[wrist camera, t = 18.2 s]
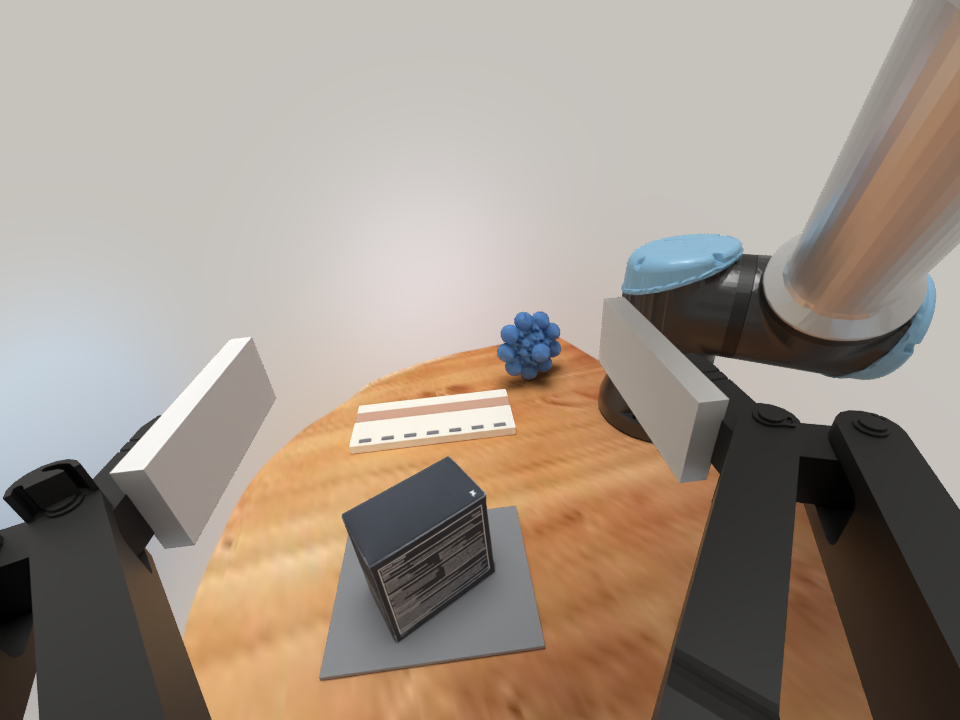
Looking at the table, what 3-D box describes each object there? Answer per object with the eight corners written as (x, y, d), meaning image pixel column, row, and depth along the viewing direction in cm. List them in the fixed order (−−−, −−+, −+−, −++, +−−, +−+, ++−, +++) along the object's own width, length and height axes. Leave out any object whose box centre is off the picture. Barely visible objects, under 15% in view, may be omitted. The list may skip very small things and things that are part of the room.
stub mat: (515, 508, 46) (515, 505, 46) (544, 648, 34) (545, 645, 34) (350, 529, 45) (349, 527, 45) (320, 680, 33) (319, 678, 33)
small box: (460, 525, 44) (448, 450, 39) (498, 571, 39) (491, 494, 34) (365, 585, 39) (338, 510, 34) (396, 646, 34) (369, 570, 29)
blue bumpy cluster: (515, 404, 62) (513, 332, 56) (492, 383, 67) (487, 315, 61) (576, 378, 67) (580, 309, 60) (550, 360, 72) (550, 295, 66)
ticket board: (505, 395, 64) (505, 387, 63) (515, 434, 56) (515, 426, 56) (361, 412, 63) (359, 404, 62) (351, 454, 55) (348, 446, 55)
